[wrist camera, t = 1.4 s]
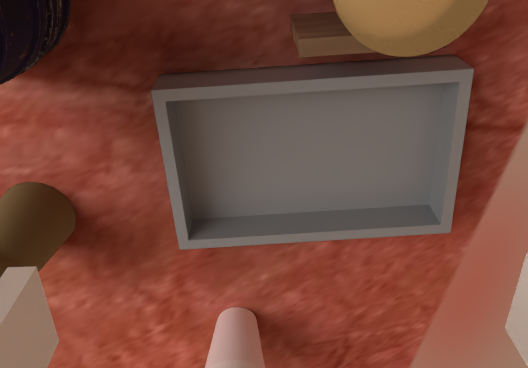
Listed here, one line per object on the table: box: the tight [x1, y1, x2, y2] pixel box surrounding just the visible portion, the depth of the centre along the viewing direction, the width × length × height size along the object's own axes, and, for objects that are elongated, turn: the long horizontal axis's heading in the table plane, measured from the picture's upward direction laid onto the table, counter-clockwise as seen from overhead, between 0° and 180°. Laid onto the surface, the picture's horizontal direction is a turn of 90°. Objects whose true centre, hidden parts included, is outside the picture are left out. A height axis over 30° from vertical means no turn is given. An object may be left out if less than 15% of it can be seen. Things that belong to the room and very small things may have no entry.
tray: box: [151, 55, 474, 250], centre depth 36 cm, size 13×21×4 cm, turn 94°
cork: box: [0, 182, 76, 278], centre depth 35 cm, size 6×6×11 cm
